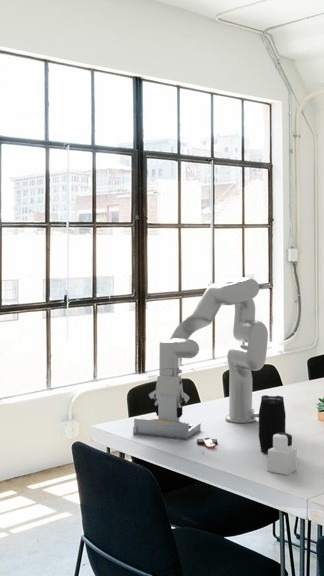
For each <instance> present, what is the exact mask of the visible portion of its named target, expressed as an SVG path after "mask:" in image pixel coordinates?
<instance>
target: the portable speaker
mask: <svg viewBox="0 0 324 576" xmlns="http://www.w3.org/2000/svg"><path fill="white" fill-rule="evenodd" d="M260 399H261V400H260V405H259V409H258V412H259V418H258V440H259V446H260V452H261V453H262V454H267V453H268V450H269V449H271V448H273V435H274V434H276V433H286V418H287V417H286V416H287V414H286V407H285V402H284V401H285V400H284V396H282V395H275V396H274V395H270V396H269V395H262V396H261V398H260Z"/></svg>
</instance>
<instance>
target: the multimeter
mask: <svg viewBox="0 0 324 576" xmlns="http://www.w3.org/2000/svg"><path fill="white" fill-rule="evenodd" d="M196 445H198V446H205V448H207V449H210V450H212V451H214V452H216V450H215V448H217V446H218V439H217V438H211V437H210V436H205V437H203V438H197V439H196ZM201 454H203V455H204V452H201Z"/></svg>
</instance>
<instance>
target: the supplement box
mask: <svg viewBox="0 0 324 576" xmlns="http://www.w3.org/2000/svg"><path fill="white" fill-rule="evenodd" d="M177 408H178V405H177V396H166V395H159V396H158V416H157V419H161V420H171V421H173V422H180V417H179V418H177Z"/></svg>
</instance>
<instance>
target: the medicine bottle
mask: <svg viewBox="0 0 324 576" xmlns="http://www.w3.org/2000/svg"><path fill="white" fill-rule="evenodd" d="M297 453H298V449H297V448H296V447H293V436H292V435H291V434H290V433H287V432H285V433H276V434H274V435H273V448H271V449H269V450H268V452H267V471H268V472H270V473H275V474H279V475H280V474H281V475H284V476H288V475H290V474H292V473H293V472H295V471H297V469H298V468H297V464H298V463H297V461H298V459H297V458H298V456H297V455H298V454H297Z"/></svg>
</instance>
